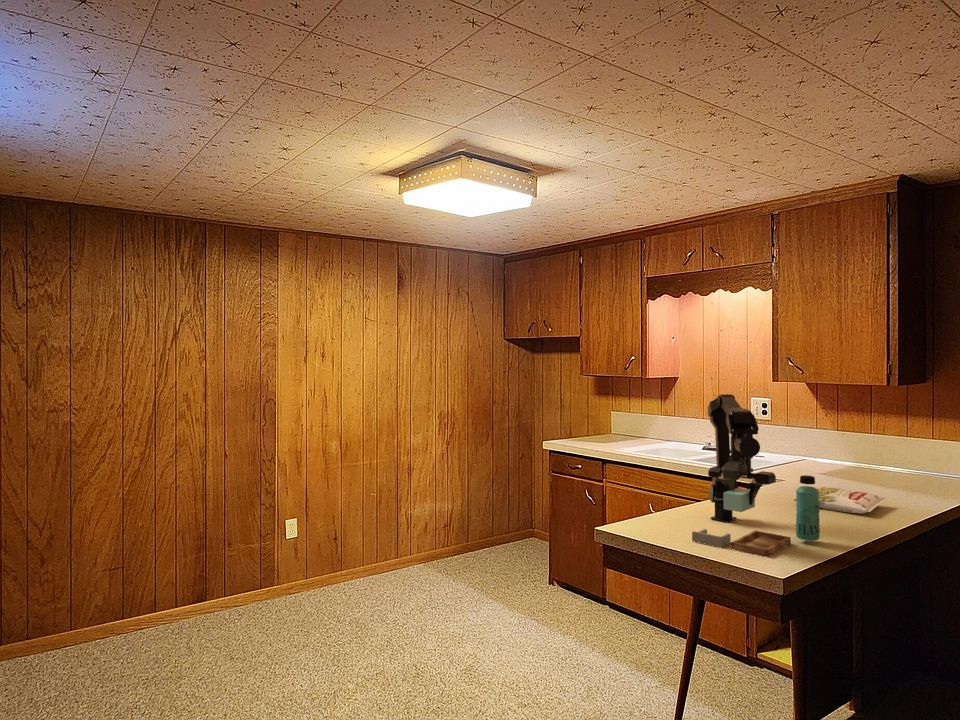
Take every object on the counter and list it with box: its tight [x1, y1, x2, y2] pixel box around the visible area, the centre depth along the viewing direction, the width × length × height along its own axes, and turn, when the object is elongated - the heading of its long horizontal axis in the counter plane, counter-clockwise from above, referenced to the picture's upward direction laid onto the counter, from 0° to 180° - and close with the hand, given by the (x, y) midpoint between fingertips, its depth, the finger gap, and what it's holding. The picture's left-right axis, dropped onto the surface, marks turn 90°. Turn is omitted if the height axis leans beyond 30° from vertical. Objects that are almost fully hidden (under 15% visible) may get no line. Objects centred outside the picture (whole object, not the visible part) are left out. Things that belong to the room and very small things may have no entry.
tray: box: [730, 530, 792, 558], centre depth 192 cm, size 17×11×2 cm, turn 134°
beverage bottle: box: [795, 475, 821, 542], centre depth 195 cm, size 6×7×20 cm
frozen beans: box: [792, 486, 887, 514], centre depth 235 cm, size 21×6×25 cm
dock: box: [691, 528, 732, 548], centre depth 197 cm, size 7×9×3 cm
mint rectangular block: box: [723, 487, 756, 513], centre depth 198 cm, size 10×6×5 cm, turn 133°
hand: (741, 503), depth 198 cm, fingers closed on mint rectangular block, 5 cm apart
